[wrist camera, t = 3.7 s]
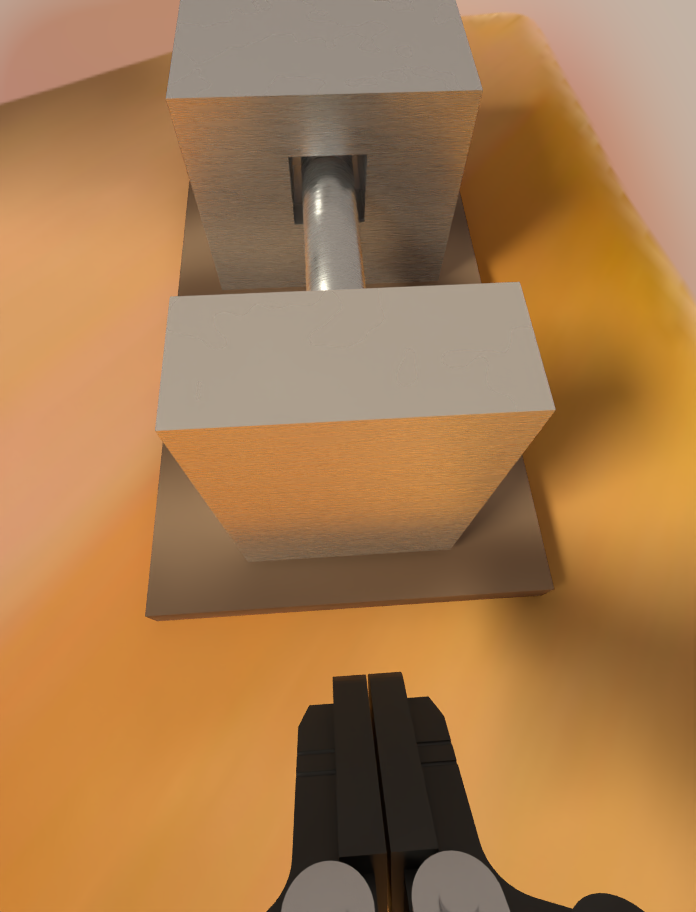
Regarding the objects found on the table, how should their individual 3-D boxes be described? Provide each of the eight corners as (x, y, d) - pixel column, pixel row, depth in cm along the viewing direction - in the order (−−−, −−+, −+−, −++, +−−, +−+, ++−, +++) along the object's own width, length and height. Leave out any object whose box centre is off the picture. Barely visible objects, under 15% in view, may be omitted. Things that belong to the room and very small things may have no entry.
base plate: (541, 595, 19) (554, 589, 17) (157, 620, 18) (145, 616, 17) (437, 134, 30) (441, 113, 29) (201, 141, 29) (195, 120, 28)
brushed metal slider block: (450, 549, 17) (555, 409, 9) (248, 561, 17) (154, 430, 9) (389, 157, 26) (412, -101, 18) (255, 161, 26) (213, -99, 18)
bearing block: (438, 280, 23) (482, 89, 16) (222, 290, 23) (165, 98, 16) (410, 136, 28) (435, -65, 21) (230, 141, 28) (189, -62, 20)
